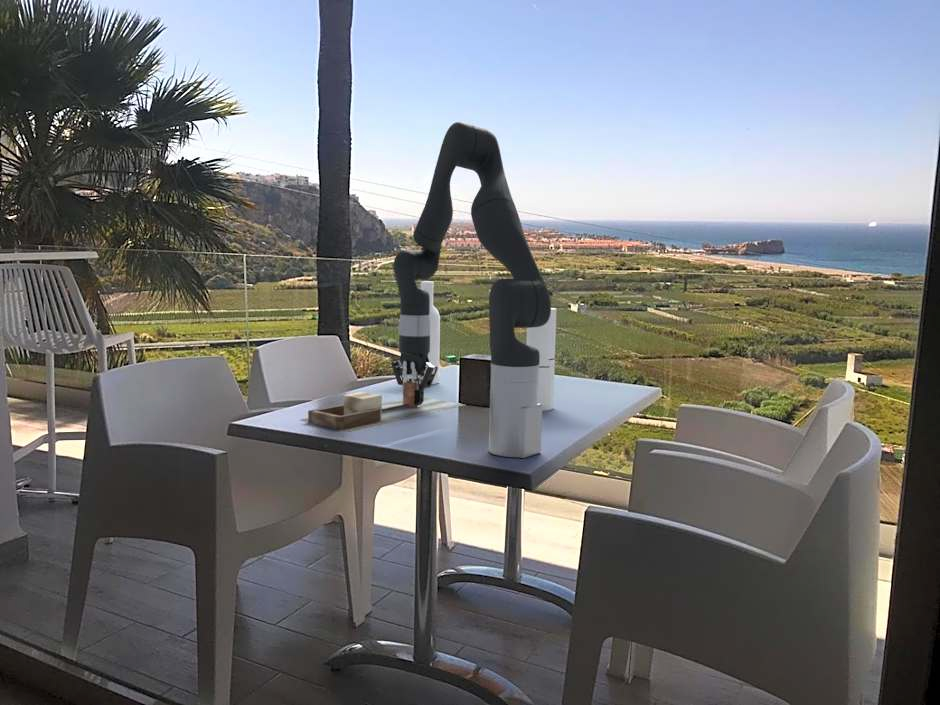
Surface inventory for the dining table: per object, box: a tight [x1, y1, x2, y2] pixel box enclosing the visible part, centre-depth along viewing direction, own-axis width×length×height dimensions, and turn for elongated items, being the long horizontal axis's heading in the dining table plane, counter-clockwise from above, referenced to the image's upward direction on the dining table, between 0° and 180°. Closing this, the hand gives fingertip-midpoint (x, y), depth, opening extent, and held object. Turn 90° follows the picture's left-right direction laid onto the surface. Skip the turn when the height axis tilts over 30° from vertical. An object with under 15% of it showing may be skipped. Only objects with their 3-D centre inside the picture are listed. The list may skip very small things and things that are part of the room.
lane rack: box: [300, 397, 467, 432], centre depth 175 cm, size 16×39×3 cm, turn 142°
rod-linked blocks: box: [343, 381, 418, 417], centre depth 174 cm, size 6×20×6 cm, turn 142°
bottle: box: [413, 280, 441, 385], centre depth 219 cm, size 8×8×30 cm
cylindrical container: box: [526, 307, 557, 412], centre depth 186 cm, size 7×7×25 cm
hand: (413, 403), depth 182 cm, fingers closed on rod-linked blocks, 2 cm apart
